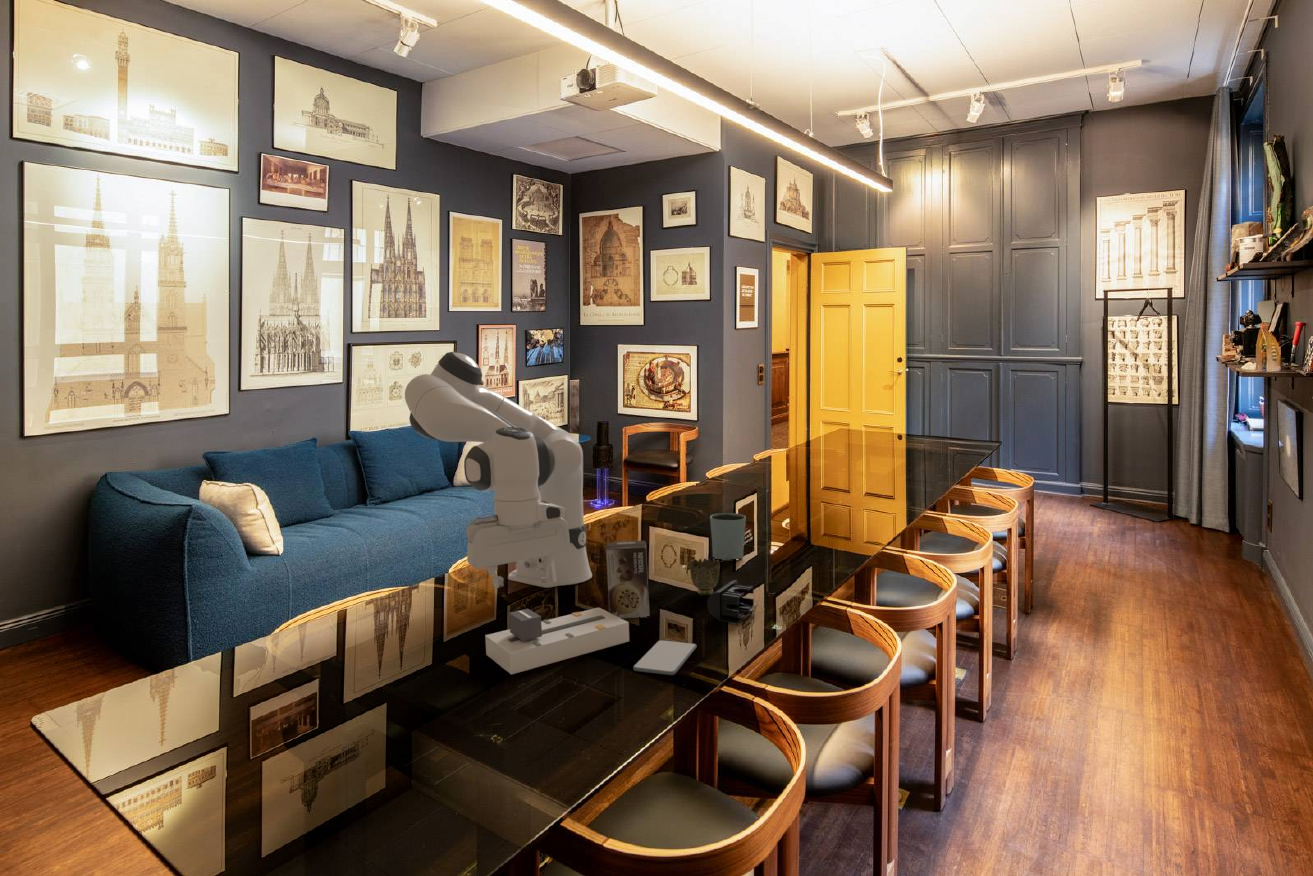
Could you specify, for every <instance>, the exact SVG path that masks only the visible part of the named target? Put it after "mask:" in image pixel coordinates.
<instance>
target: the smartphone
mask: <svg viewBox="0 0 1313 876" xmlns="http://www.w3.org/2000/svg"><path fill="white" fill-rule="evenodd" d="M697 647H698V646H697V644H696V643H691V642H683V641H682V642H680V641H671V640H658V641H657V642H656V643H654V644H653V646H652V647H651V648H649V650H648V651H647V652H645V654H644V655H643V656H642V657H641V658H640V659H639V660H637V662H636V663H635V664H634V665H633V668H632V670H633V671H635V672H641V673H642V672H643V673H650V674H651V673H652V674H658V675H666V676H667V675H668V676H674V675H676V674H677V672H678V671H679V670H680V669H681V668H682V666H683V665H684V664H685V663H686V661H687V660H688V658H689V657H691V655H692V653H694V651H695V650H696V648H697Z"/></svg>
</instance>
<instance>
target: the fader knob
mask: <svg viewBox="0 0 1313 876" xmlns="http://www.w3.org/2000/svg"><path fill="white" fill-rule="evenodd" d="M508 617H509V618H508V619H509V629H510V633H512V634H513V635H515V636H516V637H517V638H519V639H520V640H522V641H526V640H530V639H534V638H538V637H542V626H541V621H542V616H541V615H539V614H537V612H534V610H531V609H529V608H523V609H520V610H516V611H510V612H509V613H508Z"/></svg>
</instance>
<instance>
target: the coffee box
mask: <svg viewBox="0 0 1313 876" xmlns="http://www.w3.org/2000/svg"><path fill="white" fill-rule="evenodd" d="M647 554H648V553H647V543H646V540H634V541H633V540H632V541H629V540H628V541H615V542H611V541H610V542H606V548H605V555H606V569H607V571H606V572H607V573H606V574H607V575H606V576H607V588H608V589H607V590H608V592H607V593H608V612H609V613H611V614H613V615H615V616H617V617H619V618H622V619H634V618H635V619H636V618H639V617H640V618H648V617H647V616H649V617H650V600H649V599H650V596H649V582H648V581H649V578H648V576H649V575H648V562H647V561H648V559H647V558H648V557H647Z"/></svg>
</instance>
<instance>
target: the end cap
mask: <svg viewBox="0 0 1313 876" xmlns="http://www.w3.org/2000/svg"><path fill="white" fill-rule="evenodd" d="M754 590H755V589H754V586H753V585H748V584H747V585H746V584H740V583H739V581H738V579H737V580H736V579H735V580H731V581H729V582H727V583H726V584H725V585H723V586H722V587H720V588H719V589H718V590H716V591H714V592H713V593H712V594H711V595H709V597H708V599H707V609H708V612H709V613H710V614H711V615H712V616H713V617H714V618H715V619H716V620H717V621H719V622H721V621H722V622H721V623H726V622H728V623H727V624H732V623H739V624H741V623H742V622H743V621H744V620H745V619H746V618H745V617H746V616H747V615H748V614H750V613H751V612H752V611H753V612H754V609H753V608H754V605H755V603H754V602H755V599H754V598H751V597H744V593H745V594H753V595H754V592H755V591H754ZM751 614H752V613H751ZM751 614H750V615H751ZM744 618H745V619H744ZM743 619H744V620H743ZM742 620H743V621H742ZM741 621H742V622H741ZM740 622H741V623H740Z"/></svg>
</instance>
